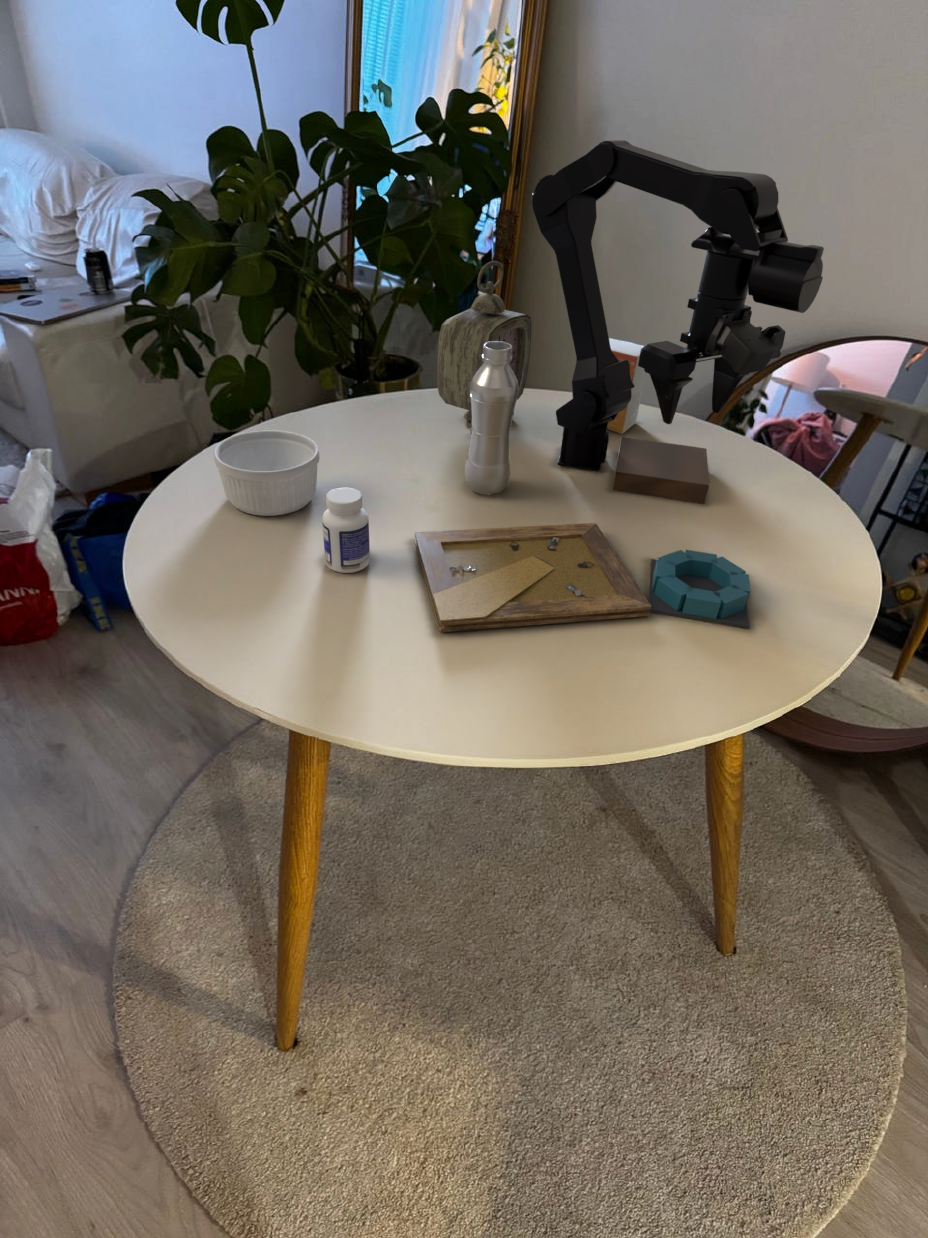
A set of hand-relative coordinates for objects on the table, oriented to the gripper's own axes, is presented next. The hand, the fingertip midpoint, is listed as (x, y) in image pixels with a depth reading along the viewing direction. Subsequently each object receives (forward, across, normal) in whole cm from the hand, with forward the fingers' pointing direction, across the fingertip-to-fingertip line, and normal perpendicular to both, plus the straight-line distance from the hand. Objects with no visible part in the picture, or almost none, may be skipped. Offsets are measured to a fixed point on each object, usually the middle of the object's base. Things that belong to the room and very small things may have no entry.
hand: (691, 417), depth 101 cm
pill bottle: (+12, -48, +6) cm, 50 cm away
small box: (+12, +10, +26) cm, 30 cm away
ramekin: (+12, -50, +25) cm, 57 cm away
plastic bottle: (+12, -23, +14) cm, 29 cm away
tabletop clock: (+12, -11, +35) cm, 38 cm away
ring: (+12, -15, -19) cm, 27 cm away
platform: (+12, +3, +6) cm, 14 cm away
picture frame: (+12, -31, -7) cm, 34 cm away
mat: (+12, -15, -19) cm, 27 cm away
